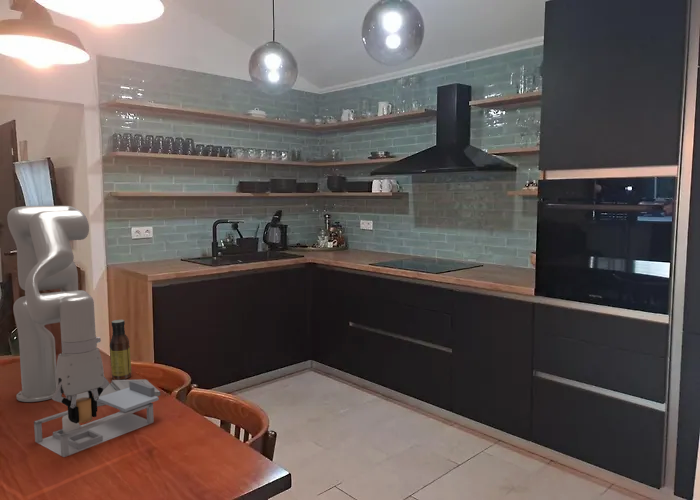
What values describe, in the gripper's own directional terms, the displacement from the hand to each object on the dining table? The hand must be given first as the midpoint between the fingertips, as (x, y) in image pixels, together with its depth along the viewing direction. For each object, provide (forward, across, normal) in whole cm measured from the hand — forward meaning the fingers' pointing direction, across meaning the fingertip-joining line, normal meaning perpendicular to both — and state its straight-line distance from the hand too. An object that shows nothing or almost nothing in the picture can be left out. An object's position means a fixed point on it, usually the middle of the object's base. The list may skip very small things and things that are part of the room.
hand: (83, 418), depth 133 cm
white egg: (+6, 0, -6) cm, 9 cm away
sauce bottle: (+6, -34, -39) cm, 52 cm away
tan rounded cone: (0, 0, 0) cm, 0 cm away
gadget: (+7, -23, -24) cm, 34 cm away
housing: (+7, -5, -4) cm, 9 cm away
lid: (+1, -14, -3) cm, 14 cm away
